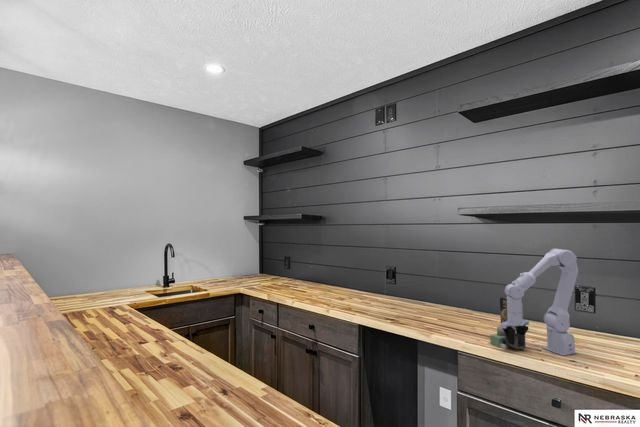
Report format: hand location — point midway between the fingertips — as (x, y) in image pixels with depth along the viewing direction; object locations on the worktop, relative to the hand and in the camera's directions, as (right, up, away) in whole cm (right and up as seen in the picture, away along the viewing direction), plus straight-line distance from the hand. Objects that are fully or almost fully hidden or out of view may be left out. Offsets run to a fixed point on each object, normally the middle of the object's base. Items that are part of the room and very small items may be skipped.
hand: (515, 342), depth 151 cm
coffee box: (+14, -4, +28) cm, 32 cm away
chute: (0, -2, 0) cm, 2 cm away
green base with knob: (-2, -3, +5) cm, 6 cm away
